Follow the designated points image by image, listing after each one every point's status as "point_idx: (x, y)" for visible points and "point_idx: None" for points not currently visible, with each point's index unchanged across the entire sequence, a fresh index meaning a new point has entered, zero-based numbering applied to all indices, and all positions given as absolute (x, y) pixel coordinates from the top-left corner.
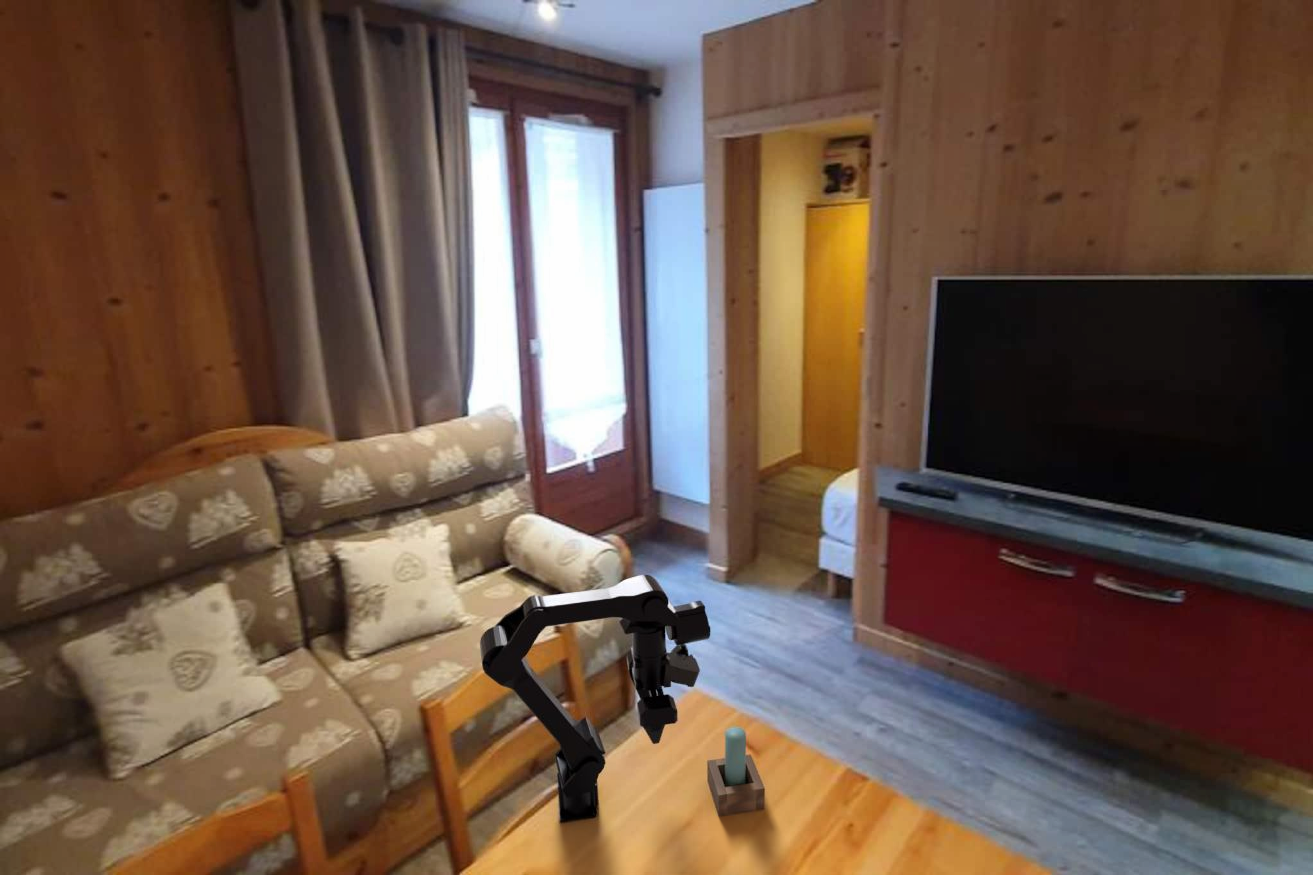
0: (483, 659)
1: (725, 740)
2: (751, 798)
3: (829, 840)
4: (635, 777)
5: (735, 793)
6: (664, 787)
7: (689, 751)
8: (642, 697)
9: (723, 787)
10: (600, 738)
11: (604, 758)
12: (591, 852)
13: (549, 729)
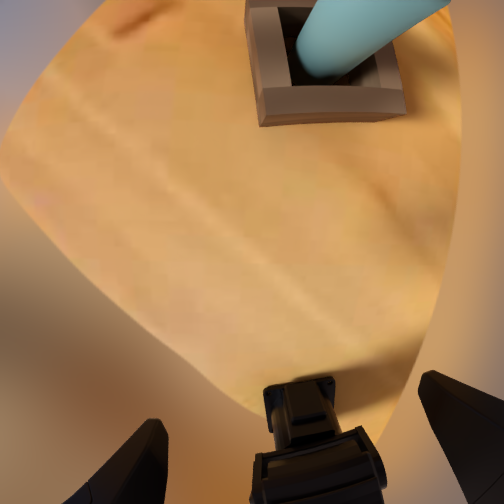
0: None
1: (407, 17)
2: None
3: None
4: (232, 313)
5: (396, 67)
6: (270, 244)
7: (141, 170)
8: (160, 498)
9: (382, 91)
10: (316, 498)
11: (366, 464)
12: (396, 368)
13: None
